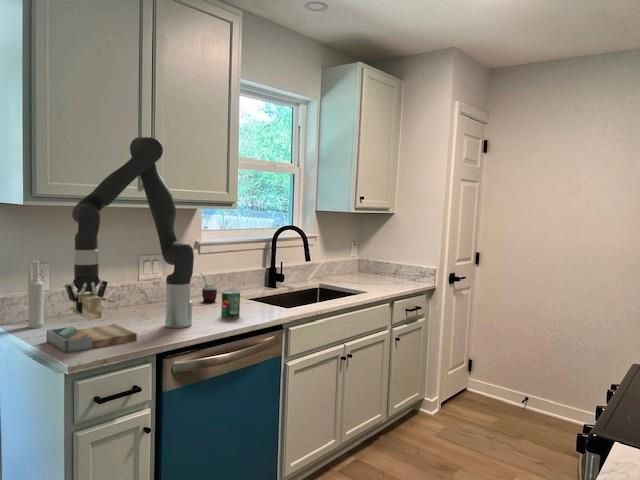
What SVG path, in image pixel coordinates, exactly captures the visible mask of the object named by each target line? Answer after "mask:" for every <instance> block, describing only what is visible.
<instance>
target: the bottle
mask: <svg viewBox="0 0 640 480" xmlns="http://www.w3.org/2000/svg"><path fill="white" fill-rule="evenodd" d="M44 285H45V283H44V282H43V281H41V279H40V260H33V261H32V279H31V281H30V282H29V283H28V284H27V291H28V292H27V295H28V298H27V299H28V300H27V302H28V322H27V326H28V328H29V329H41V328H43V327H44V324H45V322H44V295H45V294H44V293H45V292H44V288H45V287H44Z"/></svg>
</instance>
